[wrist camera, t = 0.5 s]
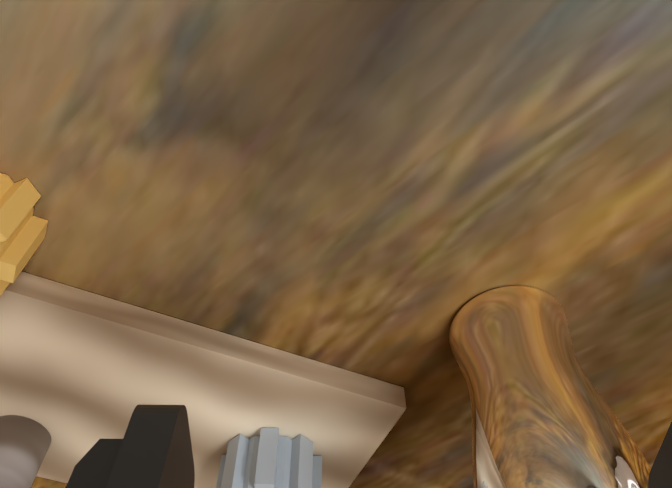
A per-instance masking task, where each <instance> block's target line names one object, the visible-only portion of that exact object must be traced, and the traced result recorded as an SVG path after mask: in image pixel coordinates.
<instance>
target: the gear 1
mask: <svg viewBox="0 0 672 488" xmlns="http://www.w3.org/2000/svg"><path fill="white" fill-rule="evenodd" d="M40 197H41V195H40V194H39V193H38V192H37V190H36V189H35V188H34V186H33V185H32V184H31V182H30V181H29V180H28V179H27V178H26V179H23V180H21V181H18V182H16V183H13V181H12V180H11V179H10V177H9V176H8V175H5V174H2V173H0V296H1V295H2V293H3V292H4V290H5V289H6V287H7V286H8V285H9V283H14V281H15V280H16V278H17V277H18V276H19V274H20V273H21V271H22V270H23V268H24V267H25V266H26V264H27V263H28V261H29V260H30V258H31V257H32V255H33V254H34V253H35V251H36V250H37V248H38V247H39V245H40V244H41V242H42V241H43V240H44V238H45V235H46V230H47V225H48V220H45V219H42V218H39V217H36V216H33V211H34V208H33V206H34V205H35V203H36V202H37V201H38V200H39V198H40Z"/></svg>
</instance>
